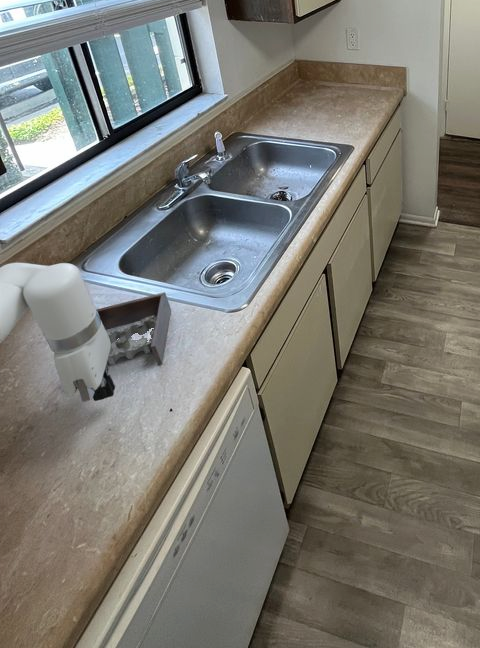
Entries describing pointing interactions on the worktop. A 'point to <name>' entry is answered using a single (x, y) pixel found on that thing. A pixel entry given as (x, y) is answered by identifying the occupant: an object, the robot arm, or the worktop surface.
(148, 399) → the worktop surface
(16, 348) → the worktop surface
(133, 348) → the egg carton
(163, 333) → the frame
